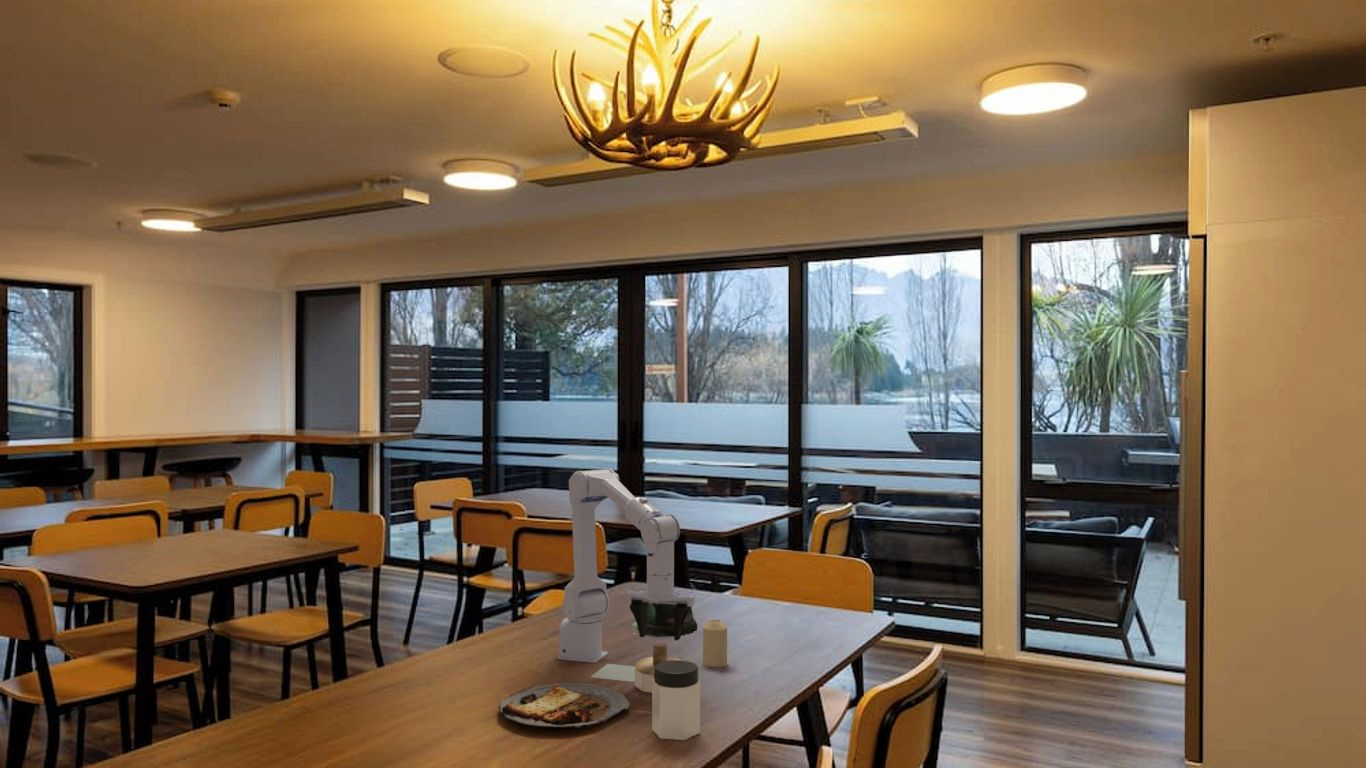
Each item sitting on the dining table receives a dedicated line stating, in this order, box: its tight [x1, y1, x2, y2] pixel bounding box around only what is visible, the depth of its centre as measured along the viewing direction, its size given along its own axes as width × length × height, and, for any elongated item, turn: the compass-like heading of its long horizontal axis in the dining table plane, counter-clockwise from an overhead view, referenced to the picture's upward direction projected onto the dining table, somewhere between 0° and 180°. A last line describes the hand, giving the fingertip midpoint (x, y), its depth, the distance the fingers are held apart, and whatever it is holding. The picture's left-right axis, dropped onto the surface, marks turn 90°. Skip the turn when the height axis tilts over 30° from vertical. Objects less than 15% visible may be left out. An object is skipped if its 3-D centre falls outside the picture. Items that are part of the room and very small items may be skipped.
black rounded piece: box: [631, 591, 698, 637], centre depth 242 cm, size 20×20×9 cm
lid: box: [634, 642, 683, 675], centre depth 195 cm, size 10×10×5 cm
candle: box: [702, 619, 728, 668], centre depth 210 cm, size 6×6×10 cm
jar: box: [651, 659, 701, 741], centre depth 170 cm, size 9×8×12 cm
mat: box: [590, 663, 635, 683], centre depth 203 cm, size 10×10×1 cm
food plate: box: [498, 682, 630, 730], centre depth 180 cm, size 25×23×4 cm
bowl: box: [634, 669, 654, 693], centre depth 195 cm, size 10×10×4 cm
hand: (660, 637), depth 195 cm, fingers open, 7 cm apart
